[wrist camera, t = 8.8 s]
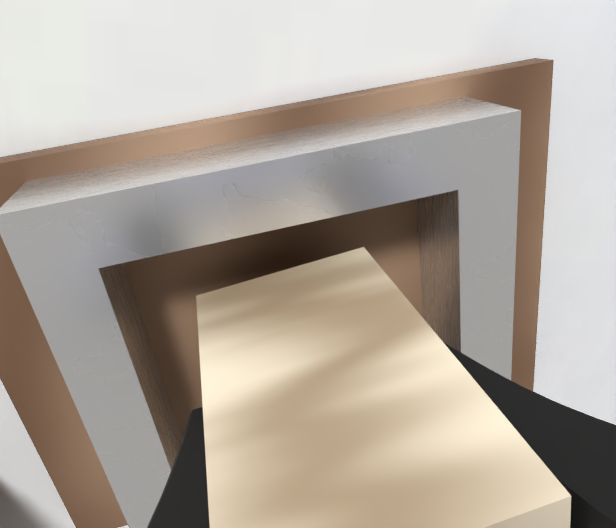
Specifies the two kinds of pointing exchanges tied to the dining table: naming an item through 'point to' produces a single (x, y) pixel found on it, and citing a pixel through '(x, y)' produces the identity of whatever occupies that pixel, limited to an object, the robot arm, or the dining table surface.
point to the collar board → (256, 253)
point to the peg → (353, 413)
